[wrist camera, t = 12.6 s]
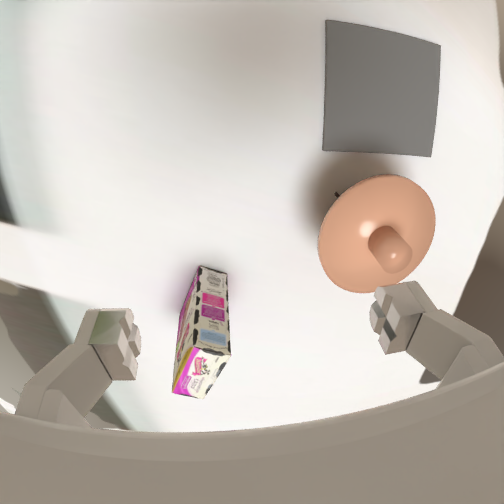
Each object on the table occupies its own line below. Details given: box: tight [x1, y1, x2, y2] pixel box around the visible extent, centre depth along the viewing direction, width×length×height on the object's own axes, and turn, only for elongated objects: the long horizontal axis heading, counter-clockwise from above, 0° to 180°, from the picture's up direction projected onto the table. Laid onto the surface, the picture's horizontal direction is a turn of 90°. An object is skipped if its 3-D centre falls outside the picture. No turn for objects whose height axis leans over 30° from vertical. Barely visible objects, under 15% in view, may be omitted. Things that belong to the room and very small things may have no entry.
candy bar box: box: [172, 266, 231, 399], centre depth 44 cm, size 11×5×16 cm, turn 156°
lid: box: [318, 174, 435, 293], centre depth 34 cm, size 16×16×5 cm
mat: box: [322, 20, 441, 157], centre depth 36 cm, size 18×18×1 cm
